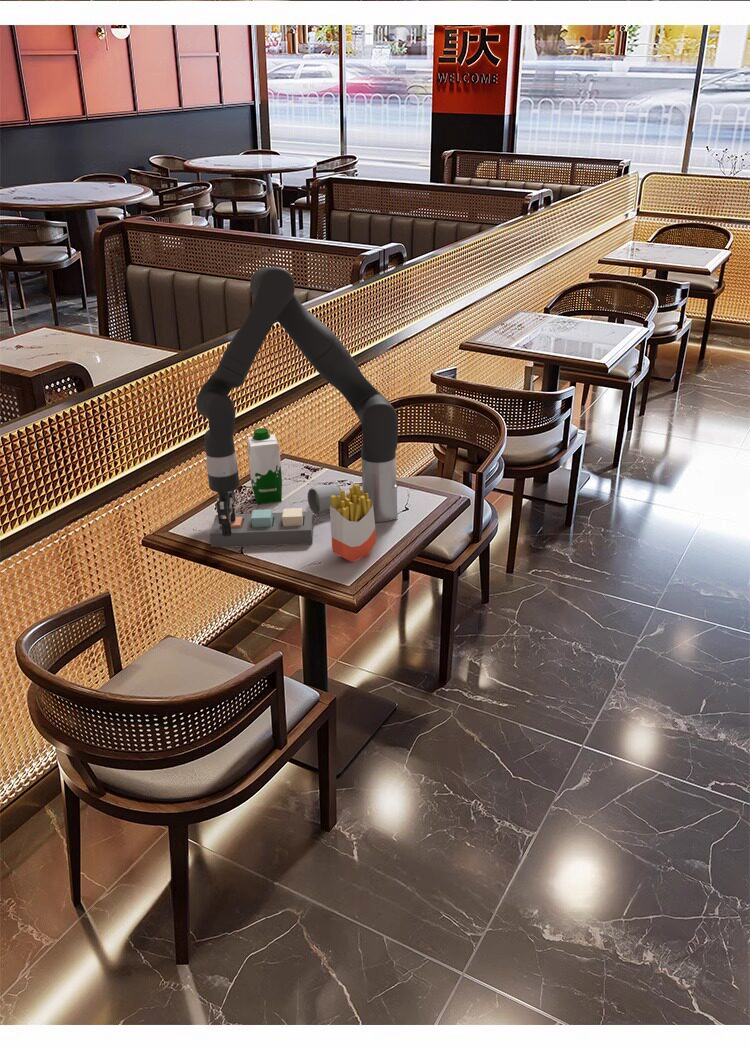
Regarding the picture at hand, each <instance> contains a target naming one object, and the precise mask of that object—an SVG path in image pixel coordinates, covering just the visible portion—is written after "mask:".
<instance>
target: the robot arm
mask: <svg viewBox="0 0 750 1049" xmlns="http://www.w3.org/2000/svg"><path fill="white" fill-rule="evenodd" d="M249 285H250V287H249V288H250V292H251V294H252V297H253V298H254V301H253V304H252V306H251V309H250V311H249V313H248V314H247V317H246V318H245V320H244V321H243V323H242V325H241V327H240V328H239V329H238V330H237V332H236V333H235V334H234V336H233V338H232V339H231V340H230V341H229V343H228V345H227V347H226V349H225V351H224V353H223V355H222V357H221V359H220V360H219V363H218V365H217V367H216V370H215V371H214V372H213V374H211V376H210V377H209V378H208V379H207V381H206V382H205V383H204V385H203V386H202V387H201V389H200V390H199V391H198V394H197V396H196V403H195V408H196V410H197V412H198V413H199V414H200V415H201V416H203V417H204V418H206V419H207V420H208V423H209V426H208V428H209V429H208V430H206V432H205V433H204V447H205V455H206V456H205V457H206V461H205V463H206V470H207V471H206V472H207V473H206V474H207V479H208V487H209V489H210V490H211V491H213V492H215V493H217V496H216V503H215V504H216V508H217V515H218V520H219V521H218V523H219V524H221V526H222V534H223V536H231V534H232V532H231V523H230V522H234V521H235V520H236V517H235V513H236V510H235V509H236V508H235V507H236V501H237V498H236V492H235V490H237V489H238V488H239V487H240V476H239V466H238V465H239V464H238V459H237V454H236V451H235V450H236V449H235V440H234V432H235V426H236V425H235V423H236V409H235V408H236V407H235V405H234V404H235V403H234V402H233V400H232V399H231V398H230V397H229V394H230V392H232V390H233V389H234V388H235V389H237V388H240V387H241V386H242V385H243V383H244V381H245V379H246V378H247V375H248V374H249V372H250V369H251V367H253V366H252V365H253V363H254V361H255V359H256V358H257V355H258V353H259V352H260V349H261V347H262V345H263V343H264V341H265V340H266V338H267V336H268V334H269V332H270V331H271V329H272V327H273V326H274V324H275V323H276V321H277V323H278V324H279V325H280V326H282V328H283V329H284V331H285V332H286V333H287V335H288V336H289V338H290V339H291V340H292V341H293V342H294V344H295V346H296V347H297V348H298V349H299V351H300V352H301V353H302V354H303V356H304V357H305V359H306V360H307V361H308V363H309V364H310V365H311V366H312V367H313V368H314V369H315V370H316V372H317V373H318V374H319V375H320V376H321V377H322V378H324V380H325V381H326V382H327V383H329V384H330V385H331V386H333V387H334V389H336V390H337V391H339V393H341V395H342V396H343V397H344V398H345V399H346V401H347V402H348V404H349V405H350V407H351V408H352V410H353V411H354V413H355V415H356V417H357V418H358V420H359V421H360V423H361V432H362V434H361V435H362V445H361V448H360V460H361V463H360V464H361V484H362V485H361V487H362V490H363V491H364V493H369V497H370V499H371V501H372V503H373V510H374V520H375V523H382V522H384V523H385V522H389V521H392V520H396V519H398V485H397V452H396V451H397V448H398V416H397V414H398V413H397V412H396V409H395V408H394V407H393V405H392V403H391V402H390V401H389V400H388V399H387V397H385V396H384V395H382V393H381V392H380V391H378V389H376V388H375V387H374V385H372V383H371V382H370V381H369V380H368V379H367V378H366V377H365V375H363V373H362V371H361V370H360V368H359V366H358V365H357V362H356V361H355V360H354V357H353V356H352V355H351V353H350V351H348V349H347V348H346V347H345V345H344V344H343V343H342V342H341V340H340V339H339V338H338V337H337V335H336V334H335V333H334V332H333V331H332V330H331V329H330V328H329V327H328V326H326V324H325V323H323V322H322V321H321V320H320V319H318V317H316V316H314V314H312V313H311V312H310V311H309V310H308V309H307V308H305V306H304V305H303V304H302V302H301V301H300V300H299V299H298V298H297V296H296V295H295V291H296V283H295V279H294V277H293V275H292V274H291V272H290V271H288V270H287V269H285V268H284V267H279V266H266V267H261V268H259V269H257V270H255V272H254V273H252V275H251V278H250V283H249ZM223 515H225V516H226V518H223Z"/></svg>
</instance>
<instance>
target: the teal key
mask: <svg viewBox="0 0 750 1049" xmlns="http://www.w3.org/2000/svg"><path fill="white" fill-rule="evenodd" d="M273 513H274V512H273V509H272V508H271V509H266V508H265V509H253V510H252V513H251V514H252V517H251V522H252V528H254V527H272V525H273Z"/></svg>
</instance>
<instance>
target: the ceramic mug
mask: <svg viewBox="0 0 750 1049" xmlns="http://www.w3.org/2000/svg"><path fill="white" fill-rule="evenodd" d="M340 490H342V489H341V487H340V486H339V485H338V484H327V485H320V486H315V487H311V488H310V489H309V490H307V491H308V492H307V503H308V507H309V509H310V511H313V513H314V514H313V515H315V516H319V515H324V514H328V513H330V506H331V498H330V496H332V495H335V496H336V497H337V496H339V495H340V496H341V491H340Z"/></svg>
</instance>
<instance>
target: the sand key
mask: <svg viewBox="0 0 750 1049" xmlns="http://www.w3.org/2000/svg"><path fill="white" fill-rule="evenodd" d="M282 512H283V515H282V521H283V526H303V512H304V510H303V507H297V508H293V507H292V508H283V511H282Z"/></svg>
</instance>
